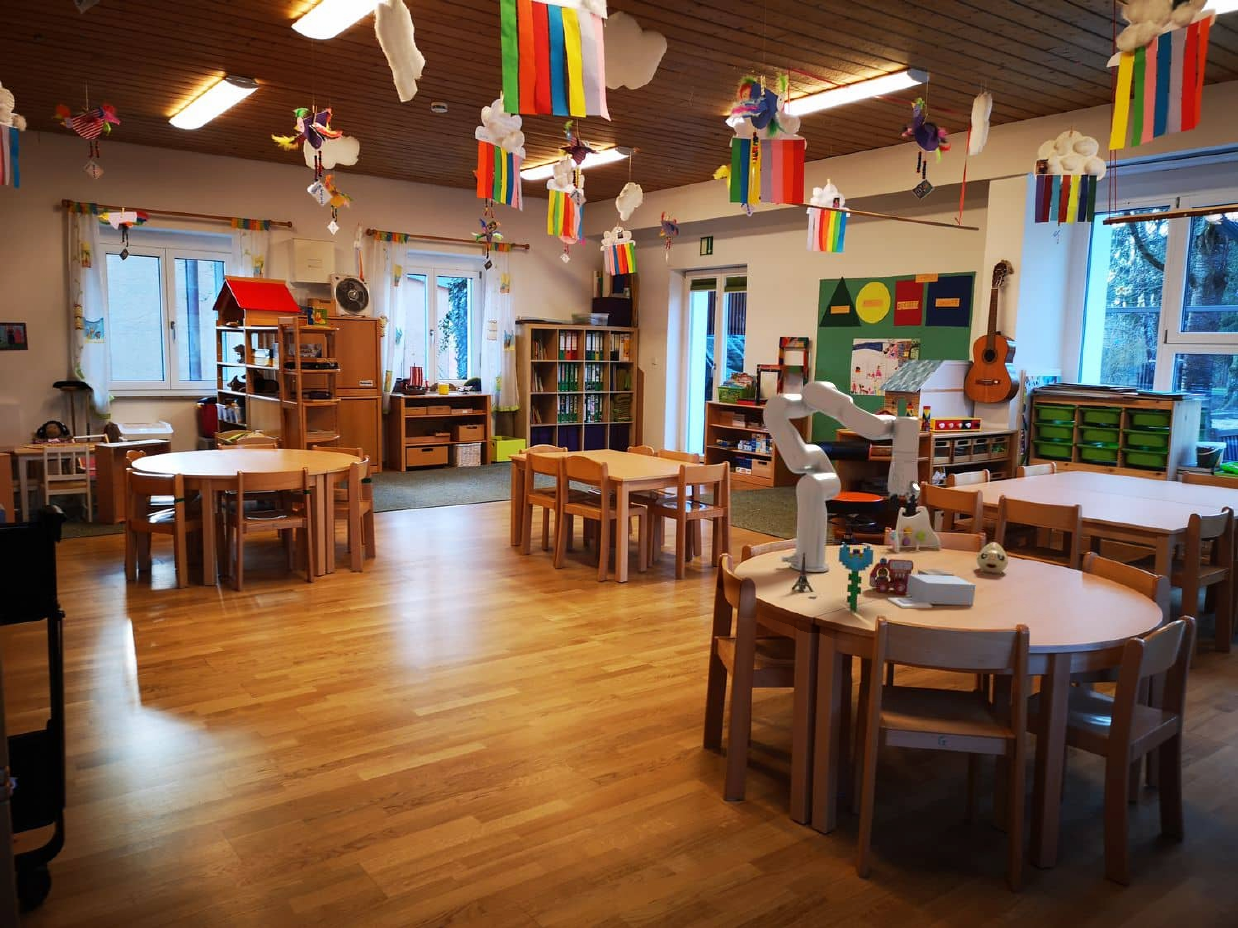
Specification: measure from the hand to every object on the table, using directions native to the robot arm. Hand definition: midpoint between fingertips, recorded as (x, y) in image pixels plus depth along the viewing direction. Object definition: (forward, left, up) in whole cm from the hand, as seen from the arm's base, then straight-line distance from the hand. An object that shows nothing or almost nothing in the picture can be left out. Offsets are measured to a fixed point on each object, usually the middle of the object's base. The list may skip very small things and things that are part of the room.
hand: (901, 513), depth 269 cm
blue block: (+6, -14, -23) cm, 28 cm away
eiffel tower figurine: (-31, -2, -24) cm, 39 cm away
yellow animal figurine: (+43, +18, -24) cm, 52 cm away
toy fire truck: (-4, -3, -24) cm, 24 cm away
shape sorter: (+31, +51, -24) cm, 64 cm away
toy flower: (-25, -23, -24) cm, 41 cm away
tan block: (+11, -3, -24) cm, 26 cm away
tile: (-5, -17, -24) cm, 30 cm away
